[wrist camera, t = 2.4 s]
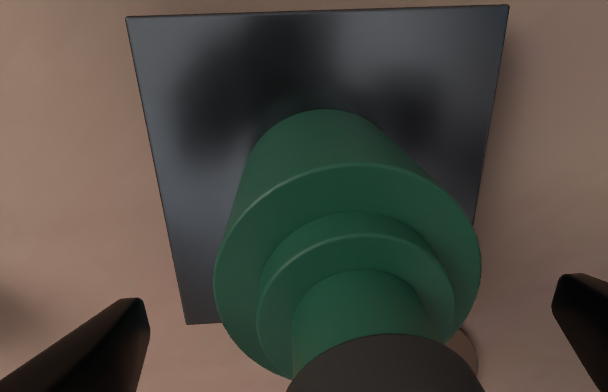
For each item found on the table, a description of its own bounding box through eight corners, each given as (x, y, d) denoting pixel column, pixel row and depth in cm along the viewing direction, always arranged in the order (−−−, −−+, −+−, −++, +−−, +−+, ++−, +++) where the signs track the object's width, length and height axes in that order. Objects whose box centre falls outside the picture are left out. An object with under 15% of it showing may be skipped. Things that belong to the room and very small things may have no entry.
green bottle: (409, 104, 13) (720, 268, 4) (397, 255, 15) (567, 579, 6) (233, 112, 12) (99, 303, 3) (249, 262, 15) (194, 611, 6)
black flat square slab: (480, 8, 13) (511, 3, 12) (442, 282, 18) (459, 309, 16) (145, 19, 13) (123, 16, 11) (195, 296, 18) (185, 325, 16)
